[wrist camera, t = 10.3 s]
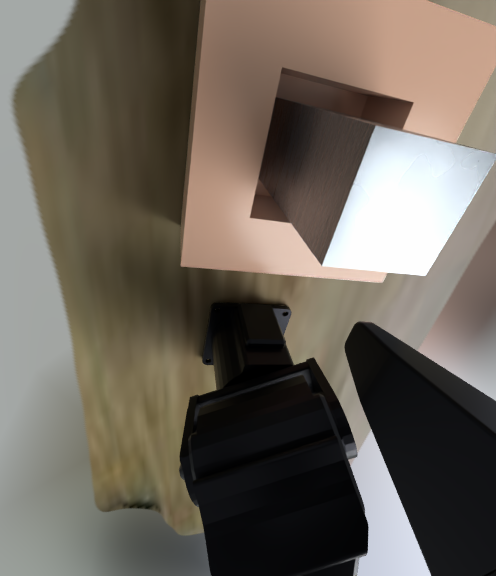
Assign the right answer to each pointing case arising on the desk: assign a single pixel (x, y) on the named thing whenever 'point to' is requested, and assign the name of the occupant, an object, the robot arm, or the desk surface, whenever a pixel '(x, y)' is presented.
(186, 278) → the desk surface
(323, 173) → the grey rectangular block
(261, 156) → the well
